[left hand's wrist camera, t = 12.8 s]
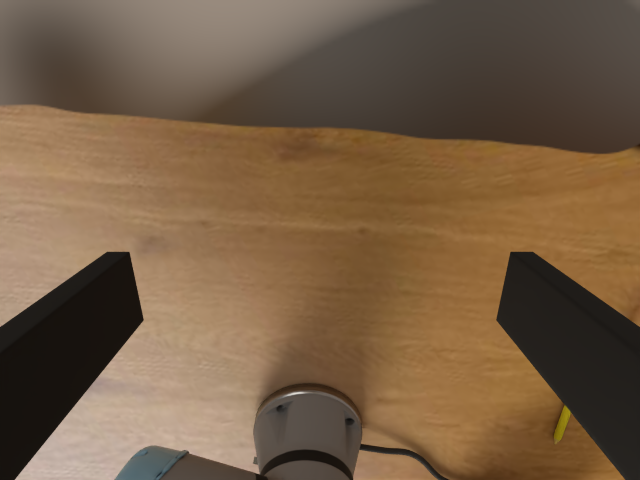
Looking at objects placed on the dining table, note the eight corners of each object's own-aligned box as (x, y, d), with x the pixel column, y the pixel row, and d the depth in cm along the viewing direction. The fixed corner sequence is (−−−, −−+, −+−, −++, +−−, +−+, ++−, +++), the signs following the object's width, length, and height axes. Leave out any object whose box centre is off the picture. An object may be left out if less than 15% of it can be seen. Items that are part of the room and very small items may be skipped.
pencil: (582, 350, 47) (587, 355, 46) (589, 350, 47) (595, 355, 46) (549, 441, 53) (553, 447, 52) (555, 441, 53) (560, 447, 52)
